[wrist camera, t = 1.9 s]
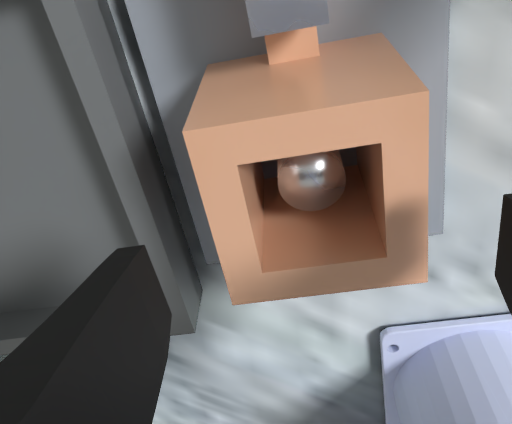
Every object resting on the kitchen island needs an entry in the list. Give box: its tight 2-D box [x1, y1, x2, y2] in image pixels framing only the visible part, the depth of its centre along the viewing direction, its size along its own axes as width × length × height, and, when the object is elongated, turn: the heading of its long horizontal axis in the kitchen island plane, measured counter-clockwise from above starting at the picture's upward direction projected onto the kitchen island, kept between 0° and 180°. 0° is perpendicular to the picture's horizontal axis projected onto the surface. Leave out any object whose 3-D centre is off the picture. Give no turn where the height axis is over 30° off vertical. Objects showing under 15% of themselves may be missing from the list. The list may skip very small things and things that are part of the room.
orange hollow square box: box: [182, 26, 429, 305], centre depth 13 cm, size 9×5×5 cm, turn 11°
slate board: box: [124, 0, 450, 264], centre depth 15 cm, size 14×9×1 cm, turn 11°
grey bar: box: [245, 0, 346, 211], centre depth 12 cm, size 8×2×4 cm, turn 11°
